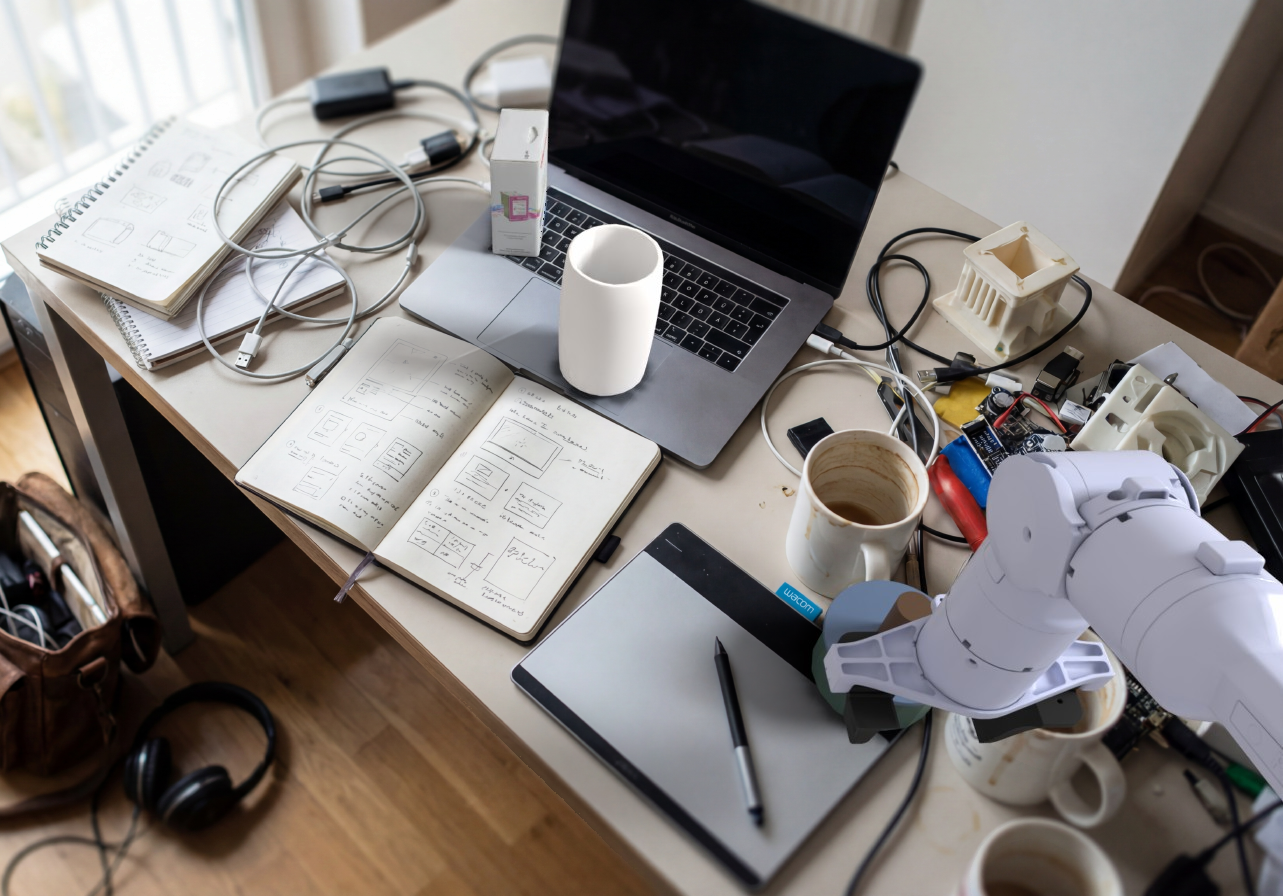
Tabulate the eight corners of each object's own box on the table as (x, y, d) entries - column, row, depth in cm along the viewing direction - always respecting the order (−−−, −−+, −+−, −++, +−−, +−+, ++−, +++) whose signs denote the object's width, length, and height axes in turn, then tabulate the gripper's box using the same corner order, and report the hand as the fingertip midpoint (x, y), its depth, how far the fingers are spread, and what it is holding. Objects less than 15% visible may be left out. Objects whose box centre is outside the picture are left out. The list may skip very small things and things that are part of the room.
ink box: (500, 201, 109) (500, 104, 99) (547, 205, 108) (551, 107, 99) (489, 254, 103) (489, 157, 94) (538, 258, 103) (542, 161, 94)
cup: (581, 419, 90) (593, 303, 79) (539, 356, 95) (544, 238, 83) (664, 389, 92) (687, 271, 81) (619, 328, 97) (635, 209, 85)
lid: (989, 668, 70) (1022, 629, 65) (887, 734, 67) (915, 699, 62) (891, 566, 75) (916, 524, 70) (792, 624, 72) (811, 584, 67)
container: (956, 696, 73) (984, 663, 69) (867, 754, 71) (891, 724, 67) (872, 605, 78) (894, 569, 74) (785, 657, 75) (803, 623, 71)
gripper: (1119, 550, 53) (1014, 665, 64) (841, 552, 53) (783, 667, 64) (1177, 675, 49) (1054, 776, 59) (873, 677, 49) (805, 778, 59)
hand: (915, 727), depth 61 cm, fingers open, 7 cm apart
